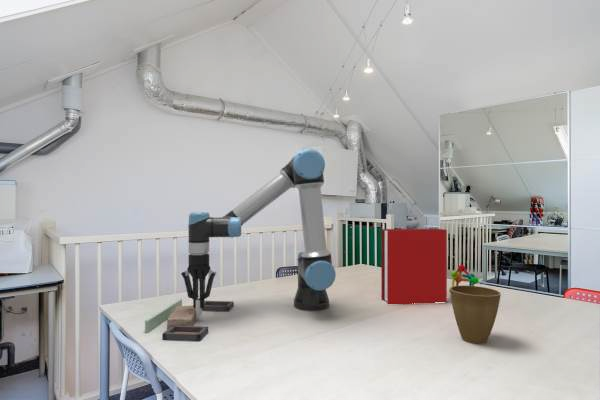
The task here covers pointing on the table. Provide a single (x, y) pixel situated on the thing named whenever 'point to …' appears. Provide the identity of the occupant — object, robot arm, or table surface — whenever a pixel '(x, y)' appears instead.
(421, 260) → the book
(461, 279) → the educational toy
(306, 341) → the table surface
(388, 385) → the table surface
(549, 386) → the table surface
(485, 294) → the plant pot
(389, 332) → the table surface
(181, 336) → the trap pits
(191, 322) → the brick
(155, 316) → the sage end wall
